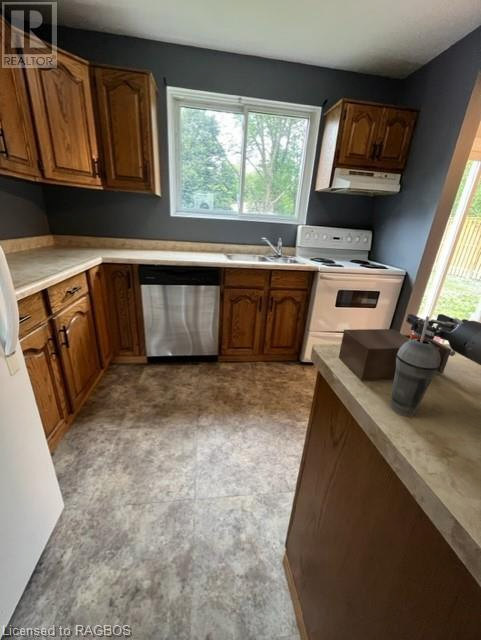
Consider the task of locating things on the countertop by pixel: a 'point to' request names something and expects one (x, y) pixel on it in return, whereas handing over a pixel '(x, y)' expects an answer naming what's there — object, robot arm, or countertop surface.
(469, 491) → the countertop surface
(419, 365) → the beverage cup
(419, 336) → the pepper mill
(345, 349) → the dark brown wooden box
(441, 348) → the dark brown angular piece
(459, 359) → the countertop surface
